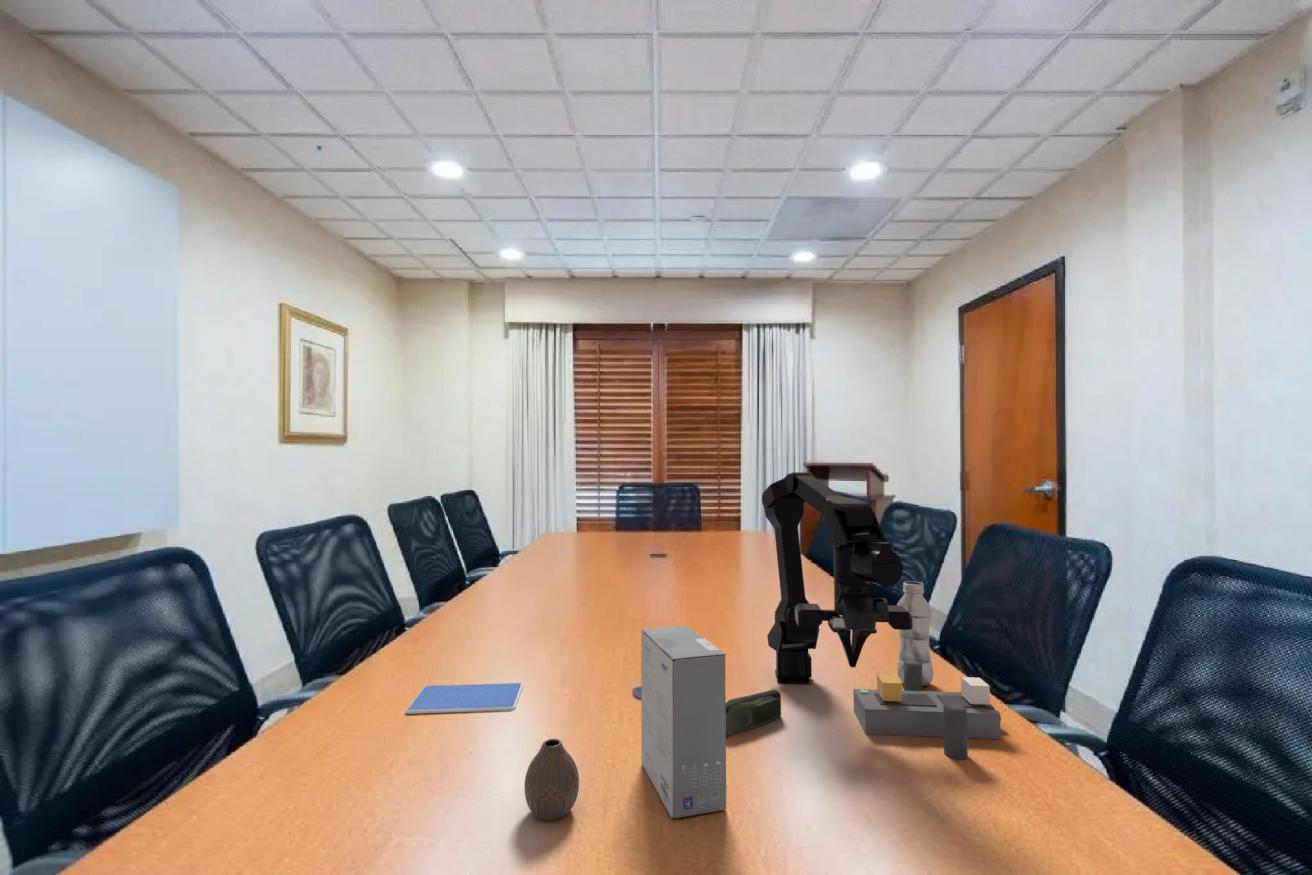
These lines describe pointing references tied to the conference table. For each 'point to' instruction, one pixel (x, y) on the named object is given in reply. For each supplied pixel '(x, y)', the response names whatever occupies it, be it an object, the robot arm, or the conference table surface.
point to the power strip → (921, 714)
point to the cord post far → (913, 676)
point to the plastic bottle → (915, 631)
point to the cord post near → (955, 731)
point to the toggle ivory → (975, 690)
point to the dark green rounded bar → (752, 711)
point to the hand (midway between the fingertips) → (852, 666)
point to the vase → (551, 782)
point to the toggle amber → (889, 687)
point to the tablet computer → (466, 698)
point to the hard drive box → (684, 720)
